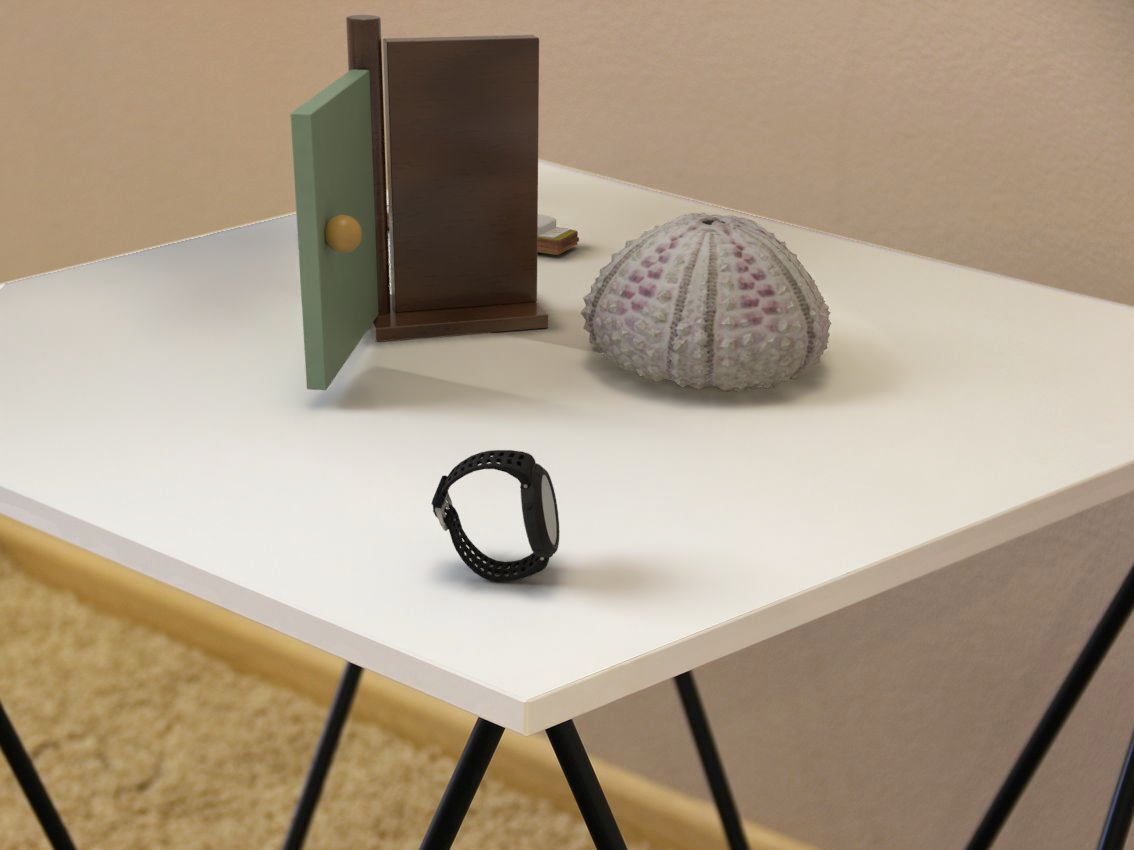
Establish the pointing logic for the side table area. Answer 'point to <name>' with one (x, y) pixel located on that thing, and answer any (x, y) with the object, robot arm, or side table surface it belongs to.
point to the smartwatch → (535, 509)
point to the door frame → (453, 180)
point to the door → (335, 223)
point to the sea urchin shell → (708, 306)
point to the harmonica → (549, 236)
